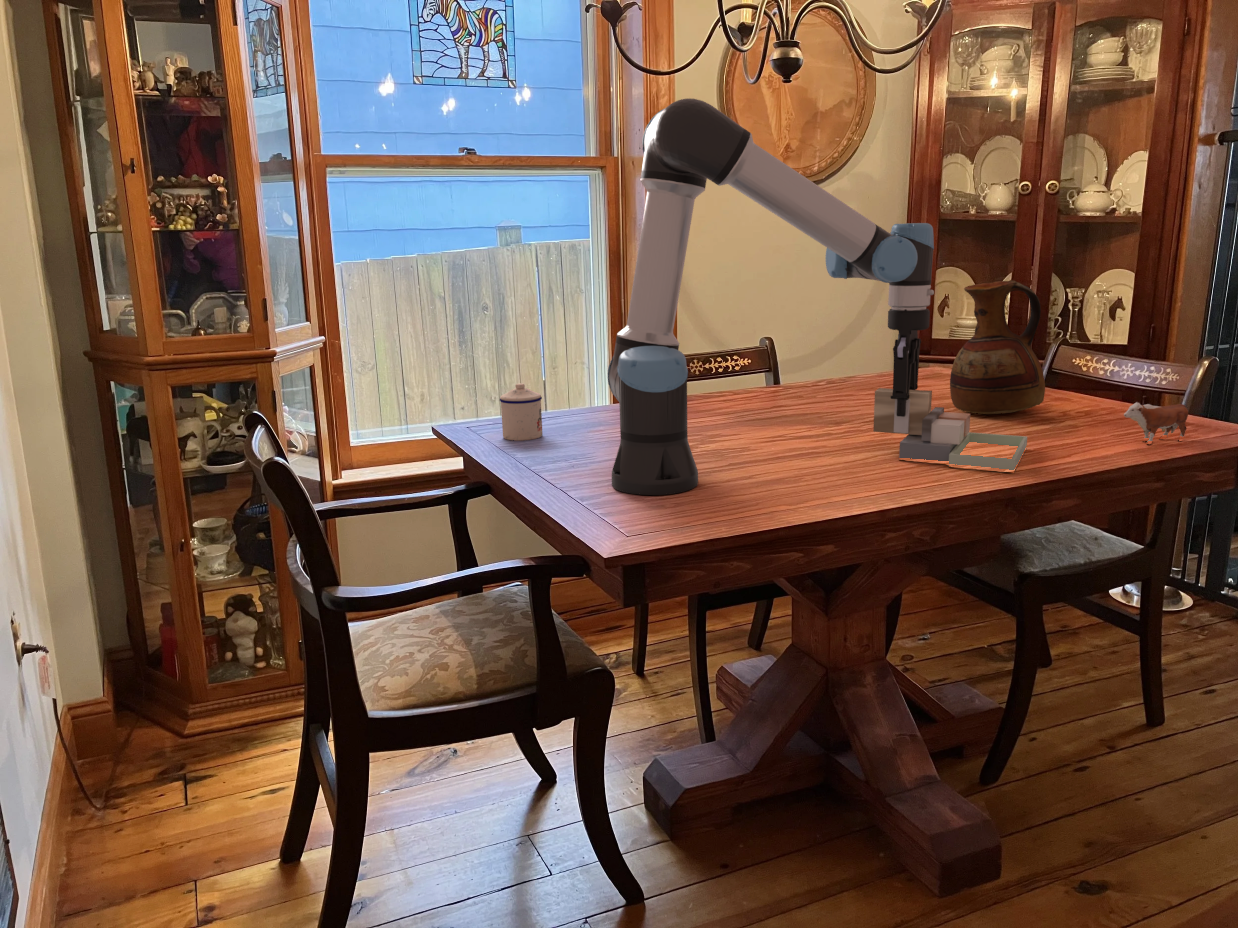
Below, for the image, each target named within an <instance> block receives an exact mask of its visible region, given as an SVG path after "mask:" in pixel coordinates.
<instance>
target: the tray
mask: <svg viewBox="0 0 1238 928" xmlns="http://www.w3.org/2000/svg"><path fill="white" fill-rule="evenodd" d="M969 442H977V443H988V444H998V445H1009V446H1018V448H1017V450H1016V452H1015V454H1014V455H1013V457H1012V459H1007V458H995V457H983V456H971V455H960V453H961V452H962V451H963V449H964V448H965V447H966V445H967V444H968V443H969ZM1027 445H1028V436H1025V435H1024V436H1023V435H1012V434H1008V435H1007V434H1000V433H999V434H998V433H986V432H985V433H984V432H971V431H969V433H968V434H967V435H966V436H965V437H964V439H963V440H962V441H961V443H960V444H959V445H958V444H957V445H956V447H955V448H954V449H953V450H952V452H951V453H950V454H949V464H955V465H956V464H957V465H971V466H981V467H991V468H999V469H1009V470H1014V469H1015V467H1016V465H1017V464H1018V462H1019V460H1020V458H1021V456H1022V454H1023V452H1024V450H1025V448H1026V446H1027ZM1026 449H1027V448H1026Z"/></svg>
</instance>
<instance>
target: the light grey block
mask: <svg viewBox="0 0 1238 928" xmlns="http://www.w3.org/2000/svg"><path fill="white" fill-rule="evenodd" d="M963 439H964V421H963V420H947V419H936V420H935V421H934V422H933V423H932V426H931V443H944V444H958V445H959V444H960V443H961V441H962V440H963Z"/></svg>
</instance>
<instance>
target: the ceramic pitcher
mask: <svg viewBox="0 0 1238 928" xmlns="http://www.w3.org/2000/svg"><path fill="white" fill-rule="evenodd" d="M963 290H964V291H965V292H966V293H968V295H970V297H971V298H972V299H973V302H974V311H973V313H974V314H973V315H974V318H975V319H976V325H975V329H974V334H973V335H972V337H971V338H969V340H967V341H966V342H965V343H964V344H963V346H962V347H961V349H959V351H958V353H957V354H956V357H955V358H954V361H953V364H952V367H951V372H950V377H949V391H950V392H949V393H950V399H951V401H952V405H953V406H954V407H955V408H956V409H958V410H959V411H962V412H965V411H966V412H965V413H970V412H971V413H970V414H976V413H978V414H977V415H996V414H997V415H999V414H1000V415H1001V413H1002V414H1009V413H1011V414H1012V413H1015V412H1020V411H1024V410H1027V409H1032V408H1034V407H1036V406H1040V405H1041V404H1042V403H1043V402H1044V399H1045V393H1046V381H1045V375H1044V371H1043V368H1042V365H1041V363H1040V360H1039V358H1038V357H1037V355H1036V353H1035V352H1034V351H1033V348H1032V344H1033V341H1034V337H1035V334H1036V331H1037V329H1038V325H1039V323H1040V319H1041V313H1042V312H1041V311H1042V310H1041V308H1042V307H1041V302H1040V299H1039V297H1038V295H1037V294H1036V292H1035V291H1033V289H1031V288H1030V287H1028V285H1027V286H1026V285H1025V284H1022V283H1021V282H1017V281H1016V280H1013V279H1012V280H1000V281H993V282H983V283H978V284H977V283H976V284H971V285H967V286H965V287H964V288H963ZM1015 291H1019V292H1022V293H1024V294H1026V296H1027V298H1028V300H1029V304H1030V305H1029V306H1030V316H1029V319H1028V323H1027V325H1026V327H1025V330H1024V331H1023V332H1022V333H1021V334H1020V335H1018V334H1017V333H1014V332H1013V331H1011V329H1010V327H1009V325H1008V322H1007V318H1006V300H1007V297H1008V295H1009V294H1010V293H1012V292H1015Z"/></svg>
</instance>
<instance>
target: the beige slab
mask: <svg viewBox="0 0 1238 928" xmlns="http://www.w3.org/2000/svg"><path fill="white" fill-rule="evenodd" d="M892 393H893V388H885V387H884V388H883V387H879V388H877V389H876V390H875V391H874V403H873V404H874V407H873V432H874V433H885V434H886V433H889V434H901V435H908V434H912V435H922V439H921V441H931V426H932V423H933V422H934V421H935V420H936V419H939V416H940V415H941V414H942V413H943V412H945V407H942V406H941V407H940V406H937V407H936V406H935V407H934V408H933V409H932V398H933V390H923V389H922V390H921V389H917V390H909V399H910V417H909V433H897V432H894V411H895V399H891V396H893V395H892Z"/></svg>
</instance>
